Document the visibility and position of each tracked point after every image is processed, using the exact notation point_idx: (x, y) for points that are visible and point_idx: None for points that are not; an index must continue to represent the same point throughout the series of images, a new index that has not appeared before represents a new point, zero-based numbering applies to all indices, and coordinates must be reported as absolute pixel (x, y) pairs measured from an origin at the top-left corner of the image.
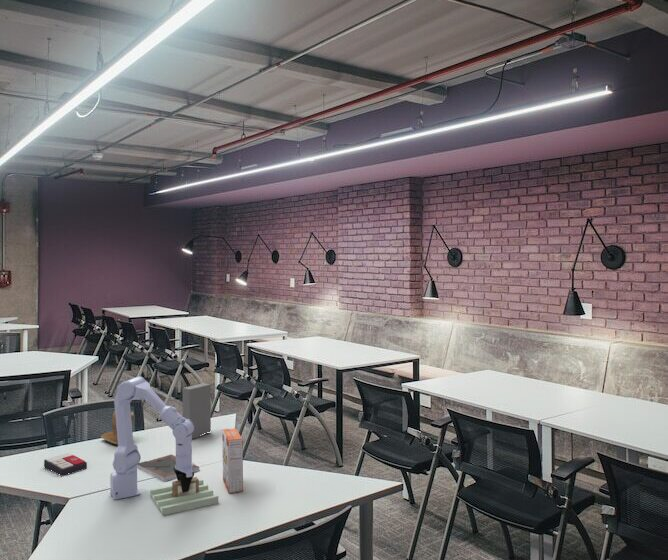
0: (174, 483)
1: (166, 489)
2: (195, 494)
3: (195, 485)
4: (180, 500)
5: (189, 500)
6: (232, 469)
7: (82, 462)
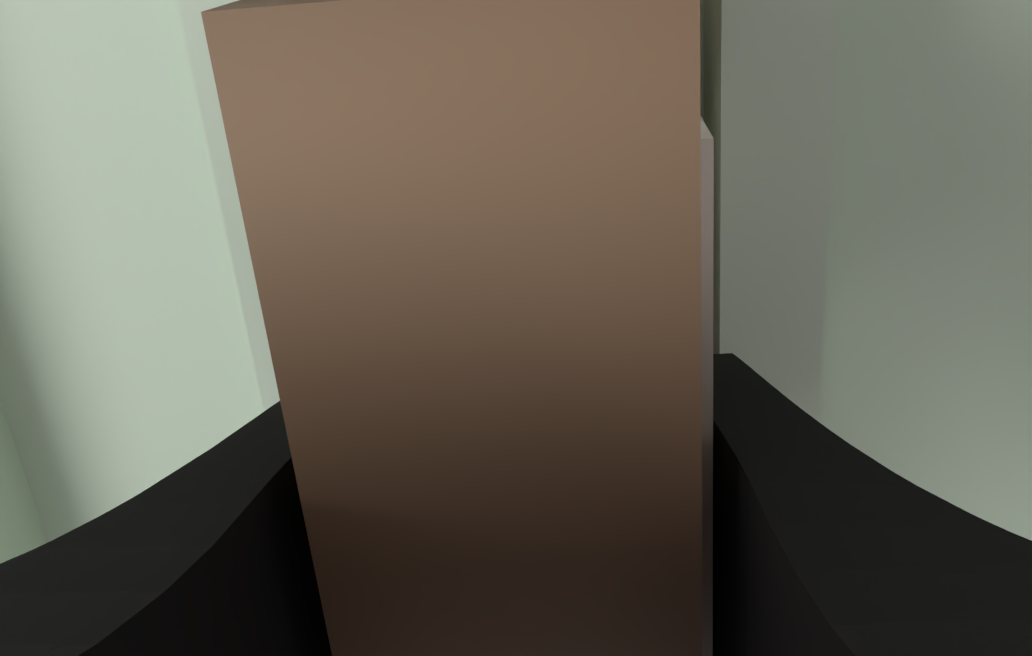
0: None
1: None
2: (831, 110)
3: (703, 125)
4: None
5: (842, 270)
6: None
7: None
